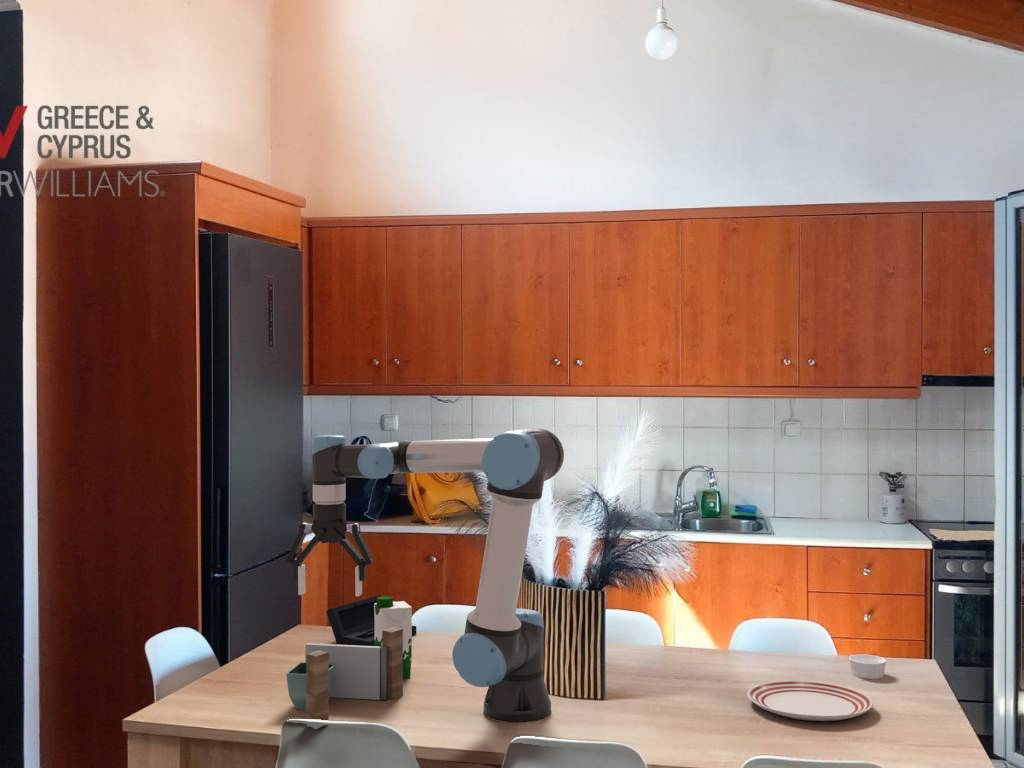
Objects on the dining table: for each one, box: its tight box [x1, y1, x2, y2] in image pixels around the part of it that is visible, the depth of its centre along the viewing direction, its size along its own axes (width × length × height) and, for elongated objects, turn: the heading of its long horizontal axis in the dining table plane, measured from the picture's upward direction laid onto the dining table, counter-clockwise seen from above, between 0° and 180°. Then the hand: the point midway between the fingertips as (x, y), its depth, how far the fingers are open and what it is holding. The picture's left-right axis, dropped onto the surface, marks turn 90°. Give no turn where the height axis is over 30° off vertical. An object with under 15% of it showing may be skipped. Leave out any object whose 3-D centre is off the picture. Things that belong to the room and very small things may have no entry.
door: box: [304, 642, 388, 701], centre depth 234 cm, size 20×3×12 cm, turn 81°
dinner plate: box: [746, 679, 874, 722], centre depth 227 cm, size 28×27×3 cm
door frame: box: [305, 627, 404, 720], centre depth 224 cm, size 3×28×16 cm, turn 146°
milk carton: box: [374, 595, 413, 680], centre depth 251 cm, size 9×9×20 cm
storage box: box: [325, 594, 417, 646], centre depth 289 cm, size 21×16×10 cm
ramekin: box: [848, 653, 887, 680], centre depth 253 cm, size 9×9×4 cm
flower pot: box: [285, 661, 335, 711], centre depth 227 cm, size 9×9×9 cm
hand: (330, 594), depth 230 cm, fingers open, 13 cm apart
